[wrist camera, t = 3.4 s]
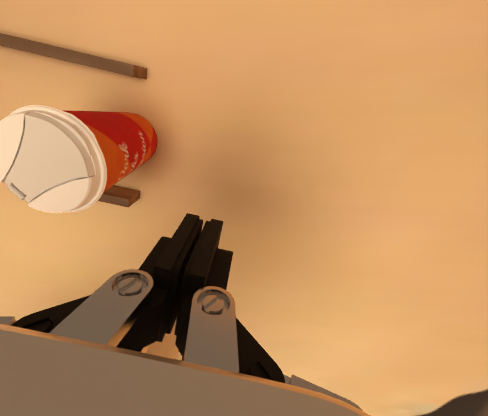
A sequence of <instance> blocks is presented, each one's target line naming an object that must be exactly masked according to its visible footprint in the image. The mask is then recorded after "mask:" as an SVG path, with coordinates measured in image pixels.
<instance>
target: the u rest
mask: <svg viewBox="0 0 488 416" xmlns="http://www.w3.org/2000/svg"><path fill="white" fill-rule="evenodd" d="M0 45H1V46H6V47H10V48H14V49H18V50H22V51H27V52H31V53H35V54H39V55H43V56H48V57H52V58H56V59H60V60H65V61H69V62H73V63H77V64H81V65H86V66H90V67H94V68H98V69H103V70H107V71H111V72H115V73H119V74H124V75H128V76H132V77H137V78H143V79H146V76H147V69H146V68H142V67H139V66H135V65H131V64H127V63H122V62H118V61H114V60H110V59H106V58H101V57H97V56H93V55H89V54H85V53H81V52H76V51H72V50H68V49H64V48H60V47H55V46H51V45H47V44H43V43H39V42H34V41H30V40H26V39H22V38H18V37H13V36H9V35H5V34H1V33H0ZM139 197H140V191H137V190H132V189H128V188H123V187H119V186H114V185H113V186H111V187H110V188H108V189H107V190H106V191H104V192H103V194H102V195H101V197H100V199H99V200H98V201H102V202H106V203H111V204H115V205H120V206H124V207H129V206H131V205H132V204H133V203H134V202H136V201H137V200H138V199H139Z"/></svg>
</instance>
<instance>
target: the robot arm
mask: <svg viewBox="0 0 488 416" xmlns="http://www.w3.org/2000/svg"><path fill="white" fill-rule="evenodd" d="M202 225H203V220H201V219H199V216H197V215H193V214H188V213H187V214H186V216H185V218H184V219H183V221H182V222H181V224H180V226H179V227H178V229H177V230H176V232H175V233H174V235H173V237H172V238H168V237H161V238H160V240H159V241H158V243H157V244H156V245H155V247H154V248H153V250H152V251H151V253H150V254H149V255H148V257H147V258H146V260H145V261H144V262H143V264H142V265H141V267H140V268H139V270H134V269H130V270H124V271H121V272H119V273H116V274H115V275H113V276H112V277H111V278H110V279H108V280H107V281H106V282H105V283H104V284H103V285H102V286H101V287H100V288H98V289H97V290H96V291H95V292H94V293H93V294H92V295H90V296H87V297H83V298H80V299H77V300H74V301H71V302H68V303H64V304H61V305H58V306H55V307H52V308H49V309H45V310H42V311H39V312H36V313H33V314H30V315H28V316H25V317H23V318H21V319H19V320H18V321H15V317H0V416H370V415H368V414H367V413H365V412H363V411H362V409H361V408H360V407H359V406H358V405H356V404H355V403H353V402H351V401H350V400H348V399H346V398H343V397H341V396H339V395H337V394H335V393H332V392H330V391H328V390H326V389H323V388H321V387H319V386H317V385H315V384H312V383H310V382H308V381H306V380H304V379H301V378H299V377H297V376H295V375H292V376H291V378H290V377H288V376H286V375H283V373H282V371H281V369H280V368H279V366H278V365H277V364H276V363H275V361H274V360H273V359H272V358H271V357H270V356H269V355H268V353H267V352H266V351H265V350H264V349H263V348H262V347H261V346H260V344H259V343H258V342H257V341H256V340H255V339H254V338H253V336H252V335H251V334H250V333H249V332H248V331H247V330H246V328H245V327H244V326H243V325H242V324H241V323H240V322H239V320H238V319H237V318H236V313H235V302H234V298H233V297H232V295H231V294H230V293H229V292H228V291H226V288H227V282H228V277H229V271H230V266H231V261H232V255H233V252H231V251H227V250H222V249H218V245H219V240H220V235H221V230H222V225H223V221H220V220H215V219H211V221H206V223H205V225H204V227H203V230H202ZM201 231H202V232H201ZM178 351H179V352H180V353H181V355H182V361H181V360H176V357H177V354H178Z"/></svg>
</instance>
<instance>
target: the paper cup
mask: <svg viewBox="0 0 488 416" xmlns="http://www.w3.org/2000/svg"><path fill="white" fill-rule="evenodd" d="M156 147H157V136H156V133H155V130H154V128H153V127H152V125H151V124H150V123H149V122H148V121H147V120H146V119H145V118H143V117H141V116H139V115H137V114H133V113H123V112H96V111H61V110H59V109H56V108H53V107H49V106H44V105H29V106H24V107H21V108H18V109H17V110H15V111H13V112H12V113H11V114H10V115H9V116H7V117H5V118H3V119H2V120H0V182H5V183H6V184H7V185H8V186H9V187H8V189H9V190H10V191H11V192H12V193H14V194H15V195H16V196H17V197H18V198H19V199H21V200H23V199H24V200H25V201H26V202H27V203H28V204H29V203H30V204H29V205H28V206H29V207H31V208H34V209H36V210H39V211H43V212H48V213H64V212H78V211H82V210H85V209H87V208H89V207H91V206H92V205H93V204H95V203H96V202H97V201H98V200H99V199H100V197H101V195H102V194H103V192H104V191H106V190H107V189H108V188H110V187H111V186H113V185H114V184H115V183H117V182H118V181H120V180H121V179H122V178H124V177H125V176H127V175H128V174H129V173H131V172H132V171H133V170H135V169H136V168H138V167H139V166H140V165H142V164H143V163H144V162H146V161H147V160H148V159H149V158H150V157H151V156H152V155H153V154H154V152H155V150H156Z"/></svg>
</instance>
